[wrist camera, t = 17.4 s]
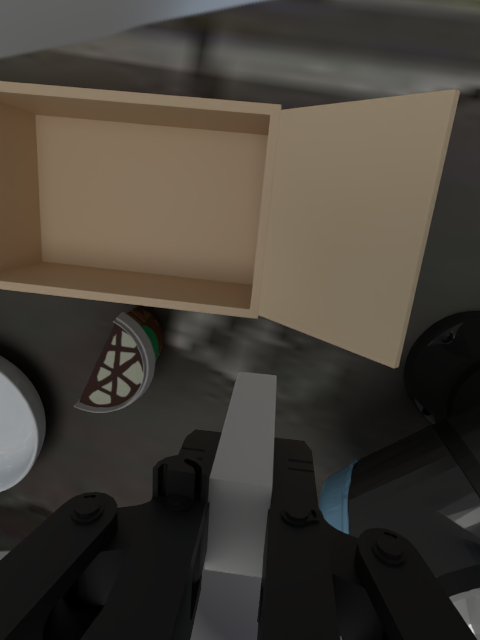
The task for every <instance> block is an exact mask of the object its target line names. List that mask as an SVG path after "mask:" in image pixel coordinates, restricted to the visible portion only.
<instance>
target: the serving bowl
mask: <svg viewBox="0 0 480 640" xmlns="http://www.w3.org/2000/svg"><path fill="white" fill-rule="evenodd" d="M45 430H46V420H45V412H44V407H43V404H42V401H41V399H40V396H39V394H38V392H37V390H36V389H35V387H34V386H33V384H32V383H31V381H30V380H29V379H28V378H27V376H26V375H25V374H24V373H23V372H22V371H21V370H20V369H19V368H18V367H16V366H15V365H14V364H13V363H11V362H10V361H8V360H7V359H5V358H3V357H2V356H0V492H1V491H4V490H7V489H9V488H11V487H12V486H14V485H16V484H17V483H18V482H20V481H21V480H22V479H23V478H24V477H25V476H26V475H27V474H28V472H29V471H30V469H31V468H32V466H33V465H34V463H35V461H36V459H37V458H38V456H39V454H40V451H41V448H42V445H43V442H44V438H45Z"/></svg>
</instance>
